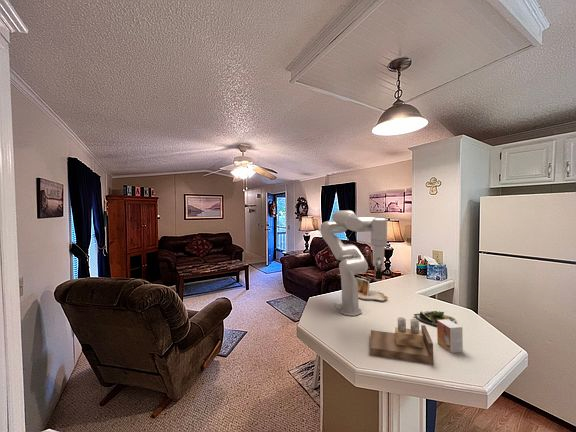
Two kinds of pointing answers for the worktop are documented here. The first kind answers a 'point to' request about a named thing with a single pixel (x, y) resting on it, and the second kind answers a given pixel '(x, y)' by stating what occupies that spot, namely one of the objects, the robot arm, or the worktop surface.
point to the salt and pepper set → (408, 333)
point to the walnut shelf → (401, 347)
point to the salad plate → (432, 317)
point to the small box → (450, 336)
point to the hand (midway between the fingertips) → (378, 276)
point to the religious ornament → (368, 291)
